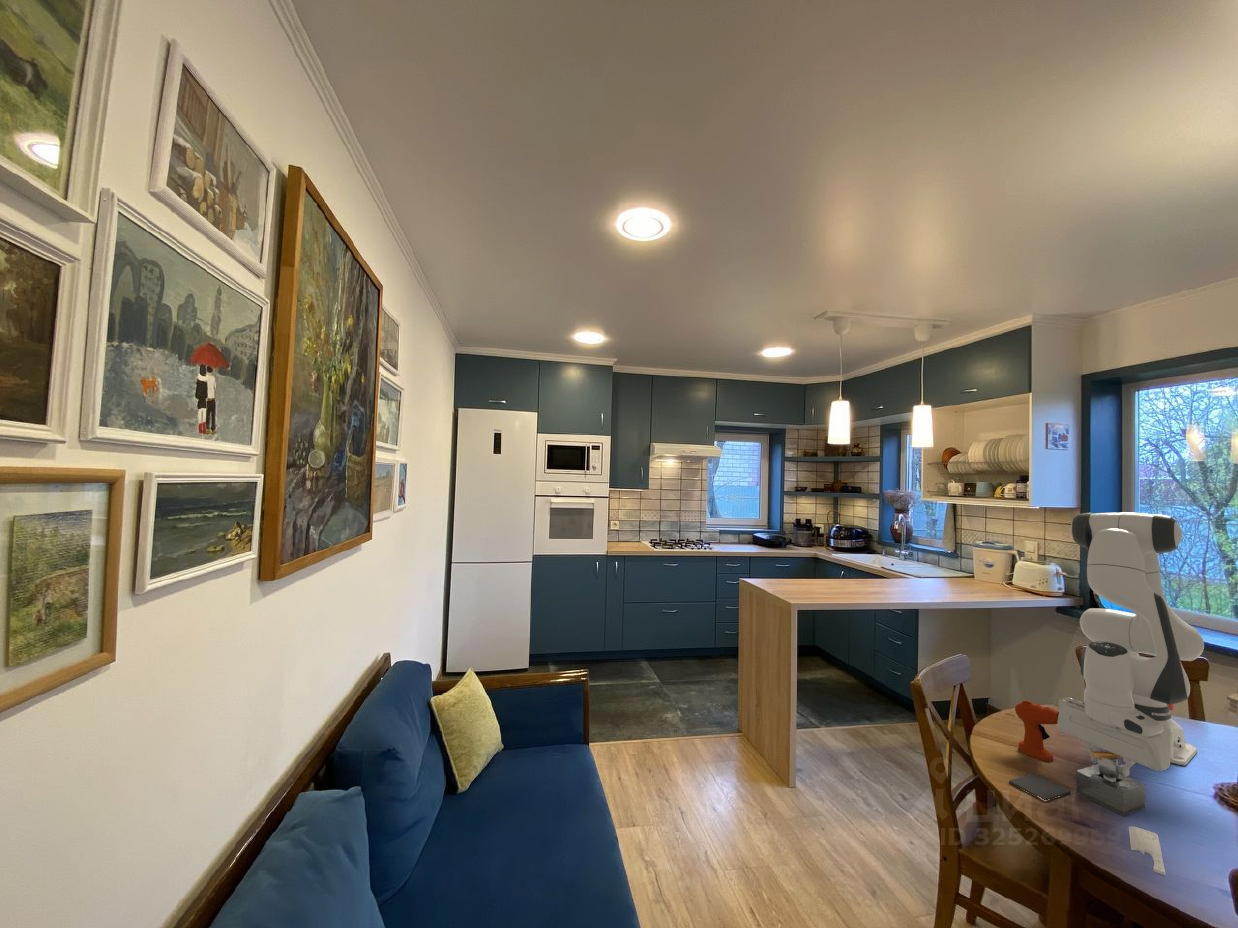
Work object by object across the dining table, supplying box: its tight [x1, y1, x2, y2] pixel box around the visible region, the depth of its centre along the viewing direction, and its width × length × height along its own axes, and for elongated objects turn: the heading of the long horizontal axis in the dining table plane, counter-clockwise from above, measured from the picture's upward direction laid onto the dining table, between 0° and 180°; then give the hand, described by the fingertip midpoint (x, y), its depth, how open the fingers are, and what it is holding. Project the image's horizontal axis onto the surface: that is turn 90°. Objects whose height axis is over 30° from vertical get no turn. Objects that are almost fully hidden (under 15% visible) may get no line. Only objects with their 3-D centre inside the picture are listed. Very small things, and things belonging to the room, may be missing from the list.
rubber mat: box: [1008, 772, 1071, 800], centre depth 125 cm, size 10×8×1 cm
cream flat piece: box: [1128, 825, 1167, 876], centre depth 105 cm, size 5×15×1 cm, turn 136°
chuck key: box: [1091, 750, 1123, 783], centre depth 121 cm, size 4×6×10 cm, turn 76°
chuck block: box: [1075, 763, 1146, 817], centre depth 121 cm, size 9×9×6 cm
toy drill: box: [1014, 699, 1059, 762], centre depth 137 cm, size 5×19×15 cm, turn 34°
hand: (1110, 768), depth 121 cm, fingers closed on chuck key, 4 cm apart
